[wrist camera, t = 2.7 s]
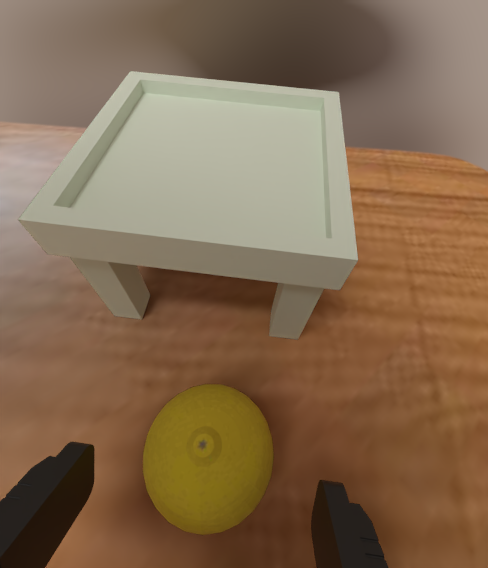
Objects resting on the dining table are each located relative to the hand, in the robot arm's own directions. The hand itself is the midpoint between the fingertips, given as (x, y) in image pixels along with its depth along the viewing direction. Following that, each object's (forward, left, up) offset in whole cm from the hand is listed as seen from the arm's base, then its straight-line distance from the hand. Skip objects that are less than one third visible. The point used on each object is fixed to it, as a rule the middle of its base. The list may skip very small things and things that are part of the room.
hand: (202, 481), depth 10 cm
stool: (-2, +15, -6) cm, 16 cm away
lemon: (0, +1, -7) cm, 7 cm away
